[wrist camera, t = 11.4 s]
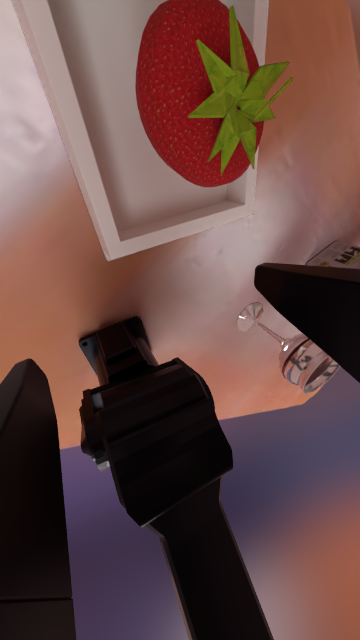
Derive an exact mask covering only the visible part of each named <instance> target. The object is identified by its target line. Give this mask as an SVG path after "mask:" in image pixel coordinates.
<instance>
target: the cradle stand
mask: <svg viewBox="0 0 360 640" xmlns="http://www.w3.org/2000/svg"><path fill="white" fill-rule="evenodd" d="M165 1H167V0H12V2H13V5H14V7H15V10H16V13H17V16H18V18H19V21H20V24H21V27H22V29H23V32H24V35H25V38H26V40H27V43H28V46H29V49H30V51H31V54H32V57H33V60H34V62H35V65H36V68H37V71H38V73H39V76H40V79H41V82H42V85H43V87H44V90H45V93H46V96H47V98H48V101H49V104H50V107H51V109H52V112H53V115H54V118H55V120H56V123H57V126H58V129H59V131H60V134H61V137H62V140H63V142H64V145H65V148H66V151H67V153H68V156H69V159H70V162H71V164H72V167H73V170H74V173H75V176H76V178H77V181H78V184H79V187H80V189H81V192H82V195H83V198H84V200H85V203H86V206H87V209H88V211H89V214H90V217H91V220H92V222H93V225H94V228H95V231H96V233H97V236H98V239H99V242H100V244H101V247H102V250H103V253H104V255H105V258H106V259H107V261H111V260H114V259H117V258H120V257H123V256H127V255H130V254H133V253H136V252H139V251H142V250H145V249H148V248H152V247H155V246H158V245H161V244H164V243H167V242H170V241H174V240H177V239H180V238H183V237H186V236H189V235H192V234H195V233H199V232H202V231H205V230H208V229H211V228H214V227H217V226H220V225H224V224H227V223H230V222H233V221H235V220H238V219H241V218H244V217H247V216H250V215H253V214H254V205H255V191H256V177H257V162H258V148H259V145H258V148H257V151H256V154H255V164H254V169H253V168H252V166H251V164H250V166H249V167H248V169H247V170H246V171H245V172H244V173H243V174H242V176H241V177H239V178H238V179H236V180H235V181H233V182H231V183H228V184H225V185H221V186H217V187H206V188H205V187H201V186H197V185H195V184H193V183H191V182H189V181H187V180H185V179H184V178H183V177H182V176H180V175H179V174H178V173H176V172H175V171H174V170H173V169H171V168H170V167H169V166H168V165H167V164H166V163H165V162H164V161H163V160H162V159H161V158H160V157H159V155H158V154H157V152H156V151H155V149H154V148H153V146H152V145H151V143H150V141H149V139H148V137H147V135H146V133H145V130H144V127H143V124H142V122H141V119H140V115H139V110H138V106H137V99H136V90H135V83H136V68H137V60H138V52H139V47H140V43H141V38H142V33H143V31H144V28H145V26H146V24H147V22H148V19H149V17H150V15H151V14H152V13H153V12H154V11H155V10H156V8H157V7H158V6H159V5H160V4H161V3H163V2H165ZM219 1H220V2H222V3H223V4H224V5H226V6H227V7H228V9H229V7H231V6H233V7H234V11H235V15H236V18H237V20H238V21H239V23H240V25H241V26H242V28H243V30H244V32H245V33H246V35H247V37H248V39H249V41H250V42H251V44H252V47H253V49H254V52H255V54H256V57H257V60H258V63H259V67H260V66H262V65H264V64H265V50H266V36H267V22H268V8H269V0H219Z"/></svg>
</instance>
